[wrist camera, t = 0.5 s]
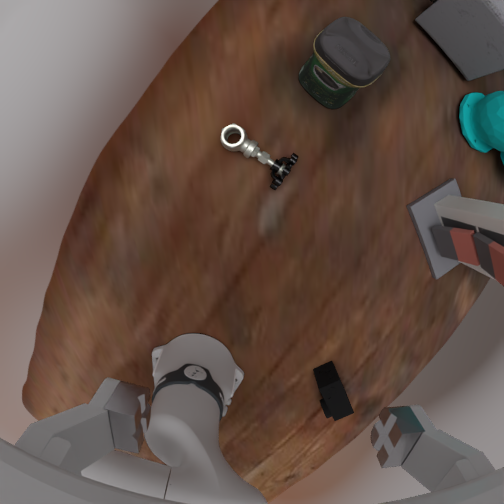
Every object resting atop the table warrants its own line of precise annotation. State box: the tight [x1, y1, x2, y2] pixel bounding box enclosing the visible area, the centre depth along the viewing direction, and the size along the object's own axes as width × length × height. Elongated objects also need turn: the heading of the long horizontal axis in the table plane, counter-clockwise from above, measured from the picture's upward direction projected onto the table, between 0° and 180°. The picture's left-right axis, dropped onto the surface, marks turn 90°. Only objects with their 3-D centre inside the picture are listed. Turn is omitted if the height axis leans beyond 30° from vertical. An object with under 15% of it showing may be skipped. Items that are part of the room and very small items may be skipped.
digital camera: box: [313, 361, 354, 421], centre depth 58 cm, size 10×5×7 cm, turn 26°
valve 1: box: [220, 123, 298, 190], centre depth 48 cm, size 7×7×12 cm
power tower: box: [407, 179, 504, 280], centre depth 41 cm, size 12×16×27 cm
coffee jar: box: [299, 17, 390, 109], centre depth 39 cm, size 10×8×19 cm
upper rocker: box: [473, 232, 504, 286], centre depth 35 cm, size 1×6×10 cm, turn 30°
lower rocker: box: [432, 225, 480, 266], centre depth 46 cm, size 1×6×10 cm, turn 30°
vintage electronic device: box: [415, 0, 504, 81], centre depth 30 cm, size 32×18×25 cm, turn 136°
